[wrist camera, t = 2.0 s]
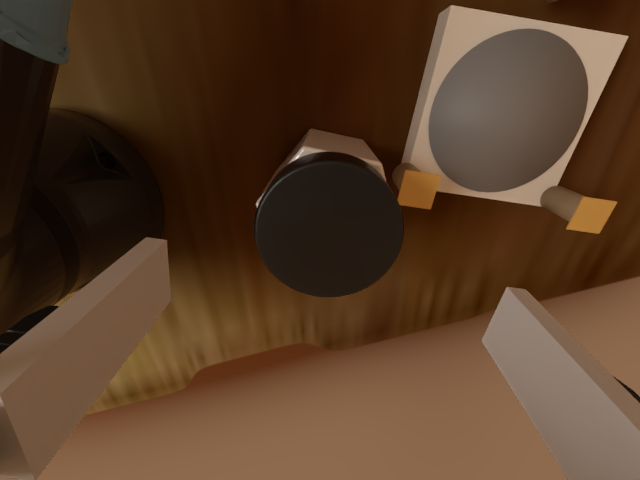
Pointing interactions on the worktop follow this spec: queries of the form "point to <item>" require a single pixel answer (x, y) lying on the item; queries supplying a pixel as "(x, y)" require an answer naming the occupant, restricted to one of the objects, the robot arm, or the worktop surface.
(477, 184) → the cradle board
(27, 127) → the robot arm
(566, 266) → the worktop surface
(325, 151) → the jar
